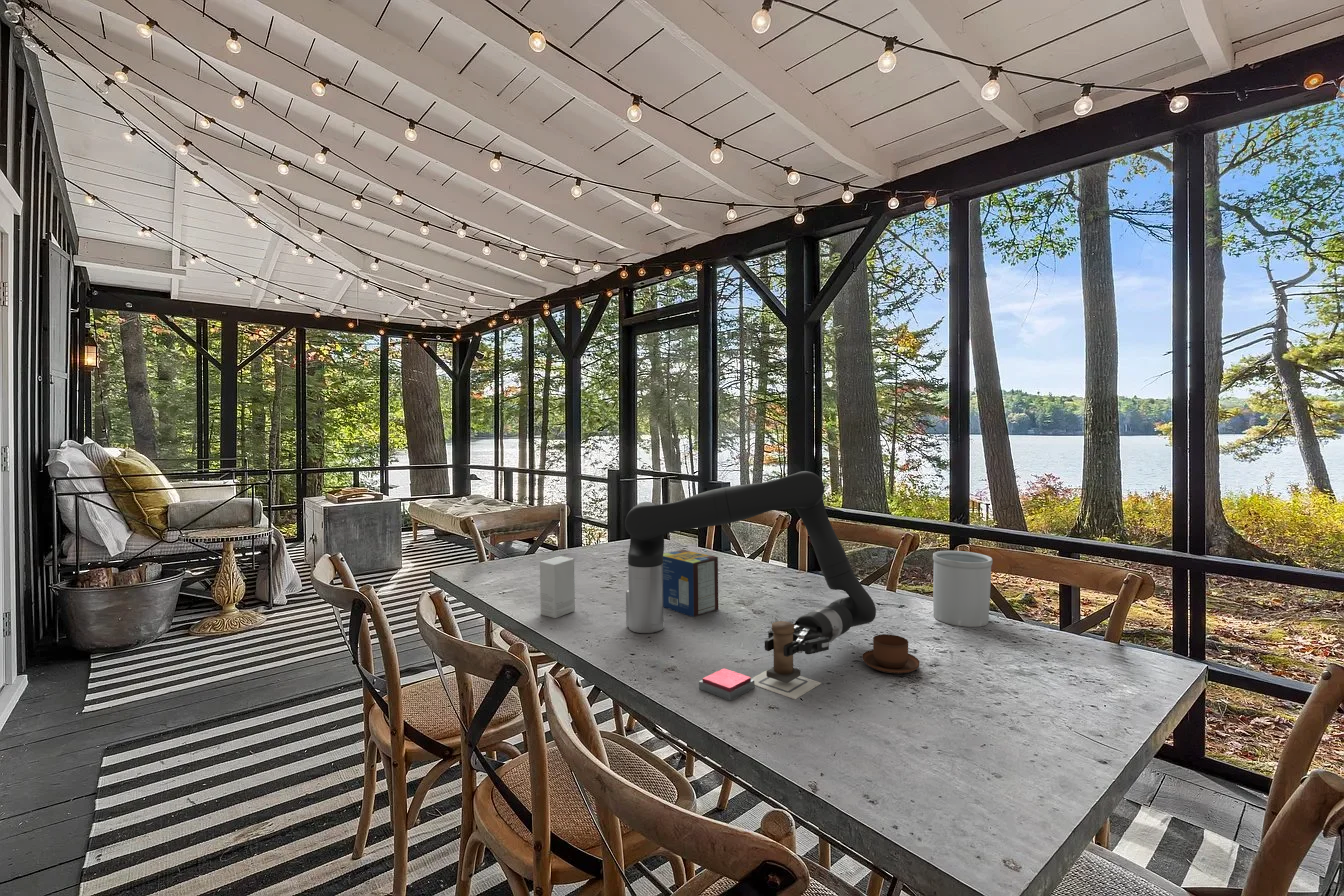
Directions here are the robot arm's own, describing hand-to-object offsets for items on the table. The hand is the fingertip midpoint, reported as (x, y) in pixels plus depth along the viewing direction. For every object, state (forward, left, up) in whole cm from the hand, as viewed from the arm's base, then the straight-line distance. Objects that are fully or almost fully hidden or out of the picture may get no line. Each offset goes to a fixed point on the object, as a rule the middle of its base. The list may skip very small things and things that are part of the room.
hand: (775, 648), depth 126 cm
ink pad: (-7, -7, -8) cm, 13 cm away
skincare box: (-74, 0, -8) cm, 74 cm away
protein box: (-50, +29, -8) cm, 58 cm away
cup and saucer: (+13, +26, -8) cm, 30 cm away
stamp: (0, +3, -6) cm, 7 cm away
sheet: (0, +3, -8) cm, 8 cm away
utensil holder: (+13, +71, -8) cm, 72 cm away
